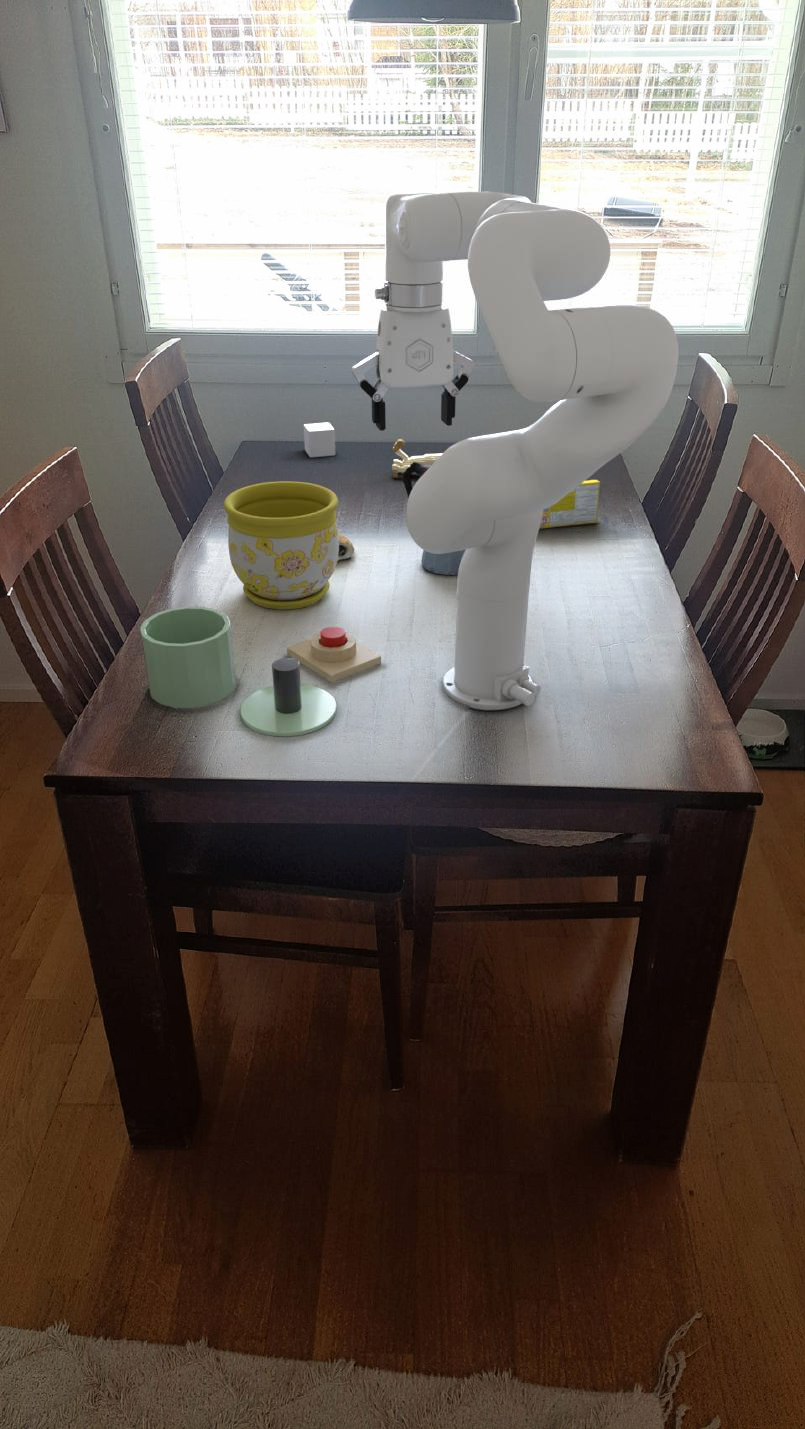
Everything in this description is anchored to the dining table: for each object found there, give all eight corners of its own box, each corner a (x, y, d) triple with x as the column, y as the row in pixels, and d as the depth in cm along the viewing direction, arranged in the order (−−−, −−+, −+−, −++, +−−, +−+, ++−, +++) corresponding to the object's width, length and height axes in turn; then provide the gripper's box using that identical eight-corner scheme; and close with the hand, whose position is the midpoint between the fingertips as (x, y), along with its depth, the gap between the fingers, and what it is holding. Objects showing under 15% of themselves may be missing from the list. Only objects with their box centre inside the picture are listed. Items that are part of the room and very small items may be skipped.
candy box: (592, 520, 198) (597, 478, 193) (597, 523, 196) (601, 482, 192) (515, 527, 194) (517, 485, 190) (518, 531, 192) (521, 489, 188)
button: (350, 643, 146) (350, 633, 145) (330, 651, 144) (330, 640, 143) (335, 635, 148) (335, 624, 147) (315, 642, 146) (315, 631, 145)
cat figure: (392, 487, 217) (509, 481, 215) (389, 447, 213) (508, 440, 210) (396, 472, 226) (508, 466, 223) (393, 434, 221) (507, 427, 218)
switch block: (381, 666, 147) (381, 645, 145) (331, 686, 142) (330, 664, 140) (336, 639, 154) (335, 619, 152) (287, 657, 149) (285, 636, 147)
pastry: (306, 546, 186) (305, 526, 184) (341, 541, 188) (340, 521, 186) (322, 564, 178) (322, 544, 176) (358, 559, 181) (358, 539, 179)
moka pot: (483, 580, 173) (489, 466, 162) (396, 573, 175) (395, 460, 165) (490, 559, 181) (496, 449, 170) (406, 552, 183) (407, 443, 173)
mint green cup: (251, 679, 143) (246, 616, 138) (203, 719, 134) (196, 652, 129) (183, 662, 148) (175, 600, 142) (132, 699, 138) (122, 634, 133)
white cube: (329, 448, 238) (329, 422, 234) (335, 455, 233) (334, 429, 230) (304, 449, 236) (303, 424, 233) (309, 457, 231) (308, 431, 228)
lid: (353, 703, 138) (351, 653, 134) (306, 749, 128) (303, 697, 124) (273, 683, 142) (269, 634, 138) (221, 726, 133) (216, 675, 129)
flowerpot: (286, 563, 179) (281, 473, 170) (363, 591, 169) (361, 496, 160) (209, 596, 167) (199, 501, 158) (287, 628, 157) (280, 528, 148)
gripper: (356, 303, 129) (359, 437, 137) (485, 297, 132) (480, 428, 141) (344, 294, 135) (348, 423, 144) (467, 289, 138) (464, 415, 147)
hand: (413, 425), depth 142 cm, fingers open, 9 cm apart
